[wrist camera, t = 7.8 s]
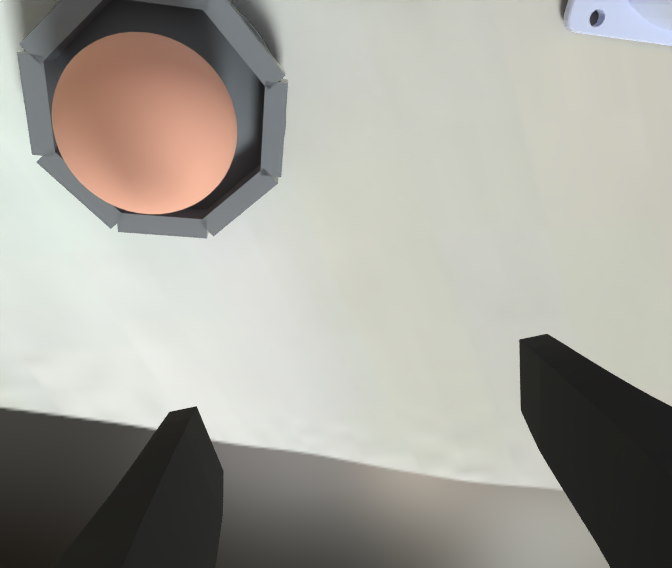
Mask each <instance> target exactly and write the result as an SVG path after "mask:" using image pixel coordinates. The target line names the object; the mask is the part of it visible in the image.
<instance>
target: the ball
mask: <svg viewBox="0 0 672 568" xmlns="http://www.w3.org/2000/svg"><path fill="white" fill-rule="evenodd" d="M52 126H53V131H54V136H55V140H56V143H57V146H58V149H59V151H60V153H61V155H62V157H63V159H64V161H65V163H66V165H67V166H68V168H69V169H70V171H71V172H72V173H73V175H74V176H75V177H76V178H77V179H78V181H79V182H80V183H81V184H83V185H84V186H85V187H86V188H87V189H88V190H89V191H90V192H92V193H93V194H94V195H96V196H97V197H99V198H100V199H102V200H104V201H105V202H107V203H109V204H111V205H113V206H116V207H118V208H121V209H124V210H127V211H131V212H136V213H142V214H164V213H171V212H175V211H179V210H183V209H185V208H188V207H190V206H192V205H194V204H196V203H198V202H199V201H201V200H202V199H204V198H205V197H206V196H208V195H209V194H210V193H211V192H212V191H213V190H214V189H215V188H216V187H217V186H218V185H219V184H220V182H221V181H222V180H223V178H224V177H225V175H226V173H227V171H228V170H229V168H230V165H231V162H232V160H233V157H234V154H235V149H236V144H237V120H236V115H235V110H234V106H233V103H232V100H231V97H230V95H229V93H228V91H227V88H226V86H225V85H224V83H223V81H222V80H221V78H220V77H219V75H218V74H217V73H216V71H215V70H214V69H213V68H212V66H211V65H210V64H209V63H208V62H207V61H206V60H205V59H204V58H202V57H201V56H200V55H199V54H197V53H196V52H195V51H194V50H192V49H190V48H189V47H187V46H185V45H184V44H182V43H180V42H178V41H176V40H173V39H171V38H168V37H165V36H162V35H158V34H153V33H147V32H125V33H117V34H113V35H110V36H106V37H104V38H101V39H99V40H97V41H95V42H93V43H92V44H90V45H88V46H87V47H85V48H84V49H82V50H81V51H80V52H79V53H78V54H77V55H76V56H75V57H73V59H72V60H71V61H70V62H69V64H68V65H67V66H66V68H65V69H64V71H63V73H62V75H61V76H60V79H59V81H58V84H57V86H56V89H55V92H54V97H53V101H52Z"/></svg>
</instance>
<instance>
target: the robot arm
mask: <svg viewBox="0 0 672 568" xmlns="http://www.w3.org/2000/svg"><path fill="white" fill-rule="evenodd" d="M595 10H597V12H598V14H599V17H598V20H597V22H596V24H594V25H593V26H591V24H590V22H589V20H590V16H591V14H592V12H594V11H595ZM564 24H565V27H566V28H567V29H568V30H569V31H571V32H575V33H582V34H589V35H596V36H604V37H611V38H618V39H625V40H633V41H640V42H647V43H654V44H662V45H669V46H672V0H568V3H567V6H566V10H565V13H564ZM519 342H520V393H521V411H522V414H523V416H524V418H525V420H526V423H527V425H528V427H529V429H530V432H531V434H532V436H533V438H534V440H535V442H536V444H537V446H538V449H539V451H540V452H541V454H542V456H543V457H544V459H545V461H546V462H547V464H548V466H549V467H550V469H551V471H552V472H553V474H554V475H555V477H556V479H557V480H558V482H559V484H560V485H561V487H562V488H563V490H564V492H565V493H566V495H567V496H568V498H569V500H570V501H571V503H572V505H573V506H574V507H575V509H576V511H577V513H578V514H579V516H580V517H581V519H582V521H583V522H584V524H585V525H586V527H587V529H588V530H589V531H590V533H591V535H592V536H593V538H594V540H595V541H596V543H597V545H598V546H599V548H600V550H601V552H602V554H603V555H604V557H605V559H606V560H607V562H608V564H609V566H610V568H672V407H671V406H669V405H668V404H666V403H664V402H662V401H660V400H658V399H656V398H654V397H652V396H650V395H649V394H647V393H645V392H643V391H641V390H639V389H638V388H636V387H634V386H632V385H631V384H629V383H627V382H625V381H624V380H622V379H620V378H619V377H617V376H615V375H613V374H612V373H610V372H608V371H607V370H605V369H603V368H602V367H600V366H598V365H597V364H595V363H594V362H592V361H590V360H589V359H587V358H585V357H584V356H582V355H581V354H579V353H577V352H576V351H574V350H573V349H571V348H569V347H568V346H566V345H565V344H563V343H561V342H560V341H558V340H556V339H555V338H553V337H551V336H550V335H548V334H544V335H539V336H535V337H530V338H525V339H520V340H519ZM222 513H223V469H222V467H221V464H220V462H219V459H218V457H217V454H216V452H215V450H214V447H213V445H212V442H211V440H210V438H209V435H208V433H207V430H206V428H205V426H204V423H203V421H202V418H201V416H200V413H199V411H198V409H197V406H196V407H191V408H187V409H182V410H177V411H172V412H169V413H168V415H167V416H166V418H165V419H164V420H163V422H162V423H161V425H160V426H159V427H158V429H157V430H156V432H155V433H154V435H153V436H152V437H151V439H150V440H149V442H148V443H147V445H146V446H145V447H144V449H143V450H142V452H141V453H140V455H139V456H138V457H137V459H136V460H135V462H134V463H133V465H132V466H131V467H130V469H129V470H128V471H127V473H126V475H125V476H124V477H123V478H122V480H121V481H120V482H119V484H118V485H117V487H116V488H115V489H114V491H113V492H112V493H111V495H110V496H109V497H108V498H107V500H106V501H105V502H104V504H103V505H102V506H101V507H100V509H99V510H98V511H97V512H96V514H95V515H94V516H93V517H92V519H91V520H90V521H89V522H88V524H87V525H86V526H85V527H84V529H83V530H82V531H81V533H80V534H79V535H78V536H77V537H76V539H75V540H74V541H73V542H72V543H71V544H70V546H69V547H68V548H67V549H66V550H65V551H64V552H63V554H62V555H61V556H60V557H59V558H58V559H57V560H56V561H55V562H54V564H53V565H52V566H51V567H50V568H215V564H216V557H217V551H218V544H219V537H220V530H221V522H222V515H223V514H222Z"/></svg>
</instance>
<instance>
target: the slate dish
mask: <svg viewBox="0 0 672 568" xmlns="http://www.w3.org/2000/svg"><path fill="white" fill-rule="evenodd" d="M125 32H147V33H153V34H158V35H162V36H165V37H168V38H171V39H173V40H176V41H178V42H180V43H182V44H184V45H185V46H187V47H189V48H190V49H192V50H194V51H195V52H196V53H197V54H199V55H200V56H201V57H202V58H204V59H205V60H206V61H207V62H208V63H209V64H210V65H211V66H212V68H213V69H214V70H215V71H216V73H217V74H218V75H219V77H220V78H221V80H222V81H223V83H224V85H225V86H226V88H227V91H228V93H229V95H230V97H231V100H232V103H233V106H234V110H235V115H236V120H237V144H236V149H235V154H234V157H233V160H232V162H231V165H230V168H229V170H228V171H227V173H226V175H225V177H224V178H223V180H222V181H221V182H220V184H219V185H218V186H217V187H216V188H215V189H214V190H213V191H212V192H211V193H210V194H209V195H208V196H206V197H205V198H204V199H202V200H201V201H199V202H198V203H196V204H194V205H192V206H190V207H188V208H185V209H183V210H179V211H175V212H171V213H164V214H142V213H136V212H131V211H127V210H124V209H121V208H118V207H116V206H113V205H111V204H109V203H107V202H105V201H104V200H102V199H100V198H99V197H97V196H96V195H94V194H93V193H92V192H90V191H89V190H88V189H87V188H86V187H85V186H84V185H83V184H81V183H80V182H79V181H78V179H77V178H76V177H75V176H74V175H73V173H72V172H71V171H70V169H69V168H68V166H67V165H66V163H65V161H64V159H63V157H62V155H61V153H60V151H59V149H58V146H57V143H56V140H55V136H54V131H53V126H52V101H53V97H54V92H55V89H56V86H57V84H58V81H59V79H60V76H61V75H62V73H63V71H64V69H65V68H66V66H67V65H68V64H69V62H70V61H71V60H72V59H73V57H75V56H76V55H77V54H78V53H79V52H80V51H81V50H82V49H84V48H85V47H87V46H88V45H90V44H92V43H93V42H95V41H97V40H99V39H101V38H104V37H106V36H110V35H113V34H117V33H125ZM20 45H21V46H22V47H23V48H24V49H25V50H26V51H23V52H17V55H18V62H19V69H20V76H21V83H22V89H23V96H24V103H25V110H26V116H27V123H28V130H29V137H30V144H31V150H32V155H42V157H41V158H40V159H39V160H38V161H37V163H38V164H39V165H40V166H41V167H42V168H44V169H45V170H46V171H47V172H48V173H49V174H50V175H51V176H52V177H54V178H55V179H56V180H57V181H58V182H59V183H60V184H61V185H63V186H64V187H65V188H66V189H67V190H68V191H69V192H70V193H71V194H73V195H74V196H75V197H76V198H77V199H78V200H79V201H80V202H82V203H83V204H84V205H85V206H86V207H87V208H88V209H89V210H90V211H92V212H93V213H94V214H95V215H96V216H97V217H98V218H99V219H101V220H102V221H103V222H104V223H105V224H106V225H107V226H108V227H109V228H112V227H113V226H115V225H116V224H118V232H127V233H141V234H155V235H168V236H182V237H196V238H207V236H208V233H209V232H210V233H211V234H212V235H213V236H214V235H216V234H217V233H218V232H219V231H221V230H222V229H223V228H224V227H225V226H227V225H228V224H229V223H230V222H231V221H233V220H234V219H235V218H236V217H238V216H239V215H240V214H241V213H242V212H244V211H245V210H246V209H247V208H249V207H250V206H251V205H252V204H253V203H255V202H256V201H257V200H258V199H260V198H261V197H262V196H263V195H264V194H266V193H267V192H268V191H269V190H270V189H272V188H273V187H274V186H275V185H277V184H278V177H281V171H282V157H283V143H284V135H285V127H286V102H287V88H288V80H287V79H282V78H283V77H284V76H285V71H284V70H283V68H282V67H281V66H280V64H279V63H278V62H277V61H276V59H275V58H274V57H273V55H272V54H271V52H270V50H269V49H268V47H267V45H266V43H265V42H264V40H263V39H262V37H261V36H260V34H259V33H258V31H257V30H256V29H255V28H254V27H253V25H252V24H251V23H250V22H249V21H248V20H247V19H246V17H245V16H244V15H242V14H241V13H240V12H239V11H238V10H237V9H236V8H235V7H234V6H233V4H232V3H231V2H230V1H229V0H61V1H60V2H59V3H58V4H57V5H56V6H55V7H54V8H53V9H52V10H51V11H50V12H49V13H48V14H47V16H46V17H45V18H44V19H43V20H42V21H41V22H40V23H39V24H38V25H37V26H36V27H35V28H34V29H33V30H32V31H31V32H30V34H29V35H28V36H27V37H26V38H25V39H24V40H23V41H22V42H21V43H20Z"/></svg>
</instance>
